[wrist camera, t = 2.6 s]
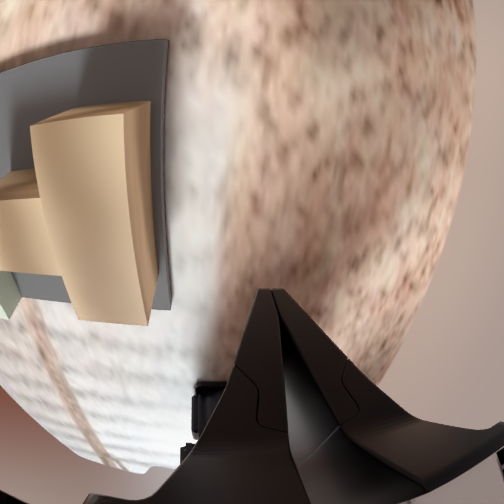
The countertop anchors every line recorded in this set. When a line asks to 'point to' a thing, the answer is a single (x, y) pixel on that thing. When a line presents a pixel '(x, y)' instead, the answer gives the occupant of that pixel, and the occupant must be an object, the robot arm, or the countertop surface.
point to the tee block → (87, 211)
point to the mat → (80, 95)
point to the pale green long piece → (8, 295)
